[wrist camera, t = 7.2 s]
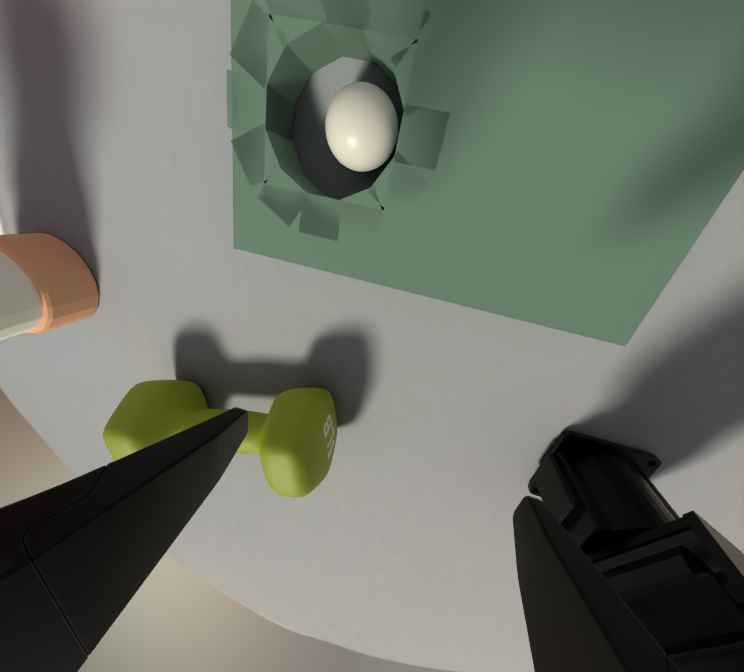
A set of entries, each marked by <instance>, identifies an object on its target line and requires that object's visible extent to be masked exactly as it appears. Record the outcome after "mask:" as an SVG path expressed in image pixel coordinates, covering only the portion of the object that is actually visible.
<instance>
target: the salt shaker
mask: <svg viewBox="0 0 744 672" xmlns="http://www.w3.org/2000/svg"><path fill="white" fill-rule="evenodd" d="M98 298H99V294H98V290H97V286H96V282H95V280H94V278H93V276H92V274H91V272H90V269H89V268H88V266H87V265H86V264H85V262H84V261H83V260H82V258H81V257H80V256H79V254H77V253H76V252H75V251H74V250H73V249H72V248H71V247H70V246H69V245H68V244H66V243H65V242H63V241H61V240H60V239H58V238H56V237H55V236H52V235H48V234H45V233H41V232H40V233H25V234H9V235H0V340H3V339H6V338H9V337H12V336H15V335H18V334H21V333H42V332H45V331H48V330H51V329H54V328H58V327H61V326H64V325H67V324H70V323H73V322H76V321H79V320H83V319H86V318H88V317H89V316H91V315H93V314H94V312H95V310H96V309H97V307H98Z"/></svg>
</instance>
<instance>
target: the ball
mask: <svg viewBox="0 0 744 672" xmlns="http://www.w3.org/2000/svg"><path fill="white" fill-rule="evenodd" d="M325 131H326V137H327V141H328V144H329V147H330V149H331V151H332V153H333V154H334V156H335V157H336V158H337V160H338V161H339V162H340V163H341V164H343V165H344V166H346V167H347V168H349V169H351V170H354V171H359V172H366V171H371V170H374V169H376V168H378V167H379V166H381V165H382V164H383V163H384V162H386V160H387V159H388V158H389V157H390V155H391V154H392V152H393V150H394V148H395V145H396V142H397V137H398V119H397V114H396V110H395V108H394V105H393V103H392V102H391V100H390V98H389V97H388V95H387V94H386V93H385V92H384V91H383V90H382V89H380V88H379V87H377V86H376V85H374V84H371V83H367V82H354V83H351V84H349V85H347V86H345V87H343V88H342V89H341V90H340V91H339V92H338V93H337V94H336V95H335V96H334V98H333V99H332V101H331V103H330V105H329V108H328V110H327V114H326V121H325Z"/></svg>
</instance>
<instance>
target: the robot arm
mask: <svg viewBox="0 0 744 672" xmlns="http://www.w3.org/2000/svg"><path fill="white" fill-rule="evenodd" d="M247 432H248V411H247V410H244V409H241V408H232V409H230V410H228V411H226V412H224V413H221V414H219V415H217V416H215V417H212V418H210V419H208V420H206V421H203V422H201V423H199V424H197V425H194V426H192V427H190V428H188V429H185V430H183V431H181V432H179V433H176V434H174V435H172V436H170V437H167V438H165V439H163V440H161V441H158V442H156V443H154V444H152V445H149V446H147V447H145V448H143V449H141V450H138V451H136V452H134V453H132V454H129V455H127V456H125V457H123V458H120V459H118V460H116V461H114V462H111V463H109V464H108V465H107V466H102V467H100V468H98V469H95V470H93V471H91V472H89V473H86V474H84V475H82V476H79V477H77V478H75V479H72V480H70V481H68V482H65V483H63V484H61V485H58V486H56V487H53V488H51V489H48V490H46V491H43V492H41V493H39V494H36V495H33V496H31V497H28V498H25V499H23V500H20V501H18V502H15V503H12V504H10V505H7V506H5V507H2V508H0V672H78V670H79V669H80V667H81V666H82V665H83V663H84V662H85V661H86V659H87V658H88V655H90V654H91V652H92V651H93V650H94V648H95V647H96V645H97V644H98V643H99V641H100V640H101V639H102V637H103V636H104V635H105V633H106V632H107V631H108V629H109V628H110V627H111V625H112V624H113V623H114V621H115V620H116V619H117V617H118V616H119V615H120V613H121V612H122V611H123V609H124V608H125V607H126V605H127V604H128V602H129V601H130V600H131V598H132V597H133V596H134V594H135V593H136V591H137V590H138V589H139V588H140V586H141V585H142V584H143V582H144V581H145V579H146V578H147V577H148V576H149V574H150V573H151V571H152V570H153V569H154V567H155V566H156V565H157V563H158V562H159V560H160V559H161V558H162V556H163V555H164V554H165V553H166V551H167V550H168V549H169V547H170V546H171V545H172V543H173V542H174V540H175V539H176V538H177V536H178V535H179V534H180V532H181V531H182V530H183V528H184V527H185V526H186V524H187V523H188V522H189V520H190V519H191V518H192V516H193V515H194V514H195V512H196V511H197V509H198V508H199V507H200V505H201V504H202V503H203V501H204V500H205V499H206V497H207V496H208V495H209V493H210V492H211V491H212V489H213V488H214V487H215V485H216V484H217V482H218V481H219V480H220V478H221V476H222V475H223V473H224V472H225V470H226V468H227V467H228V465H229V463H230V462H231V460H232V458H233V457H234V455H235V453H236V452H237V450H238V448H239V447H240V445H241V443H242V442H243V440H244V438H245V437H246V435H247ZM568 438H571V439H568ZM660 464H661V461H660V460H659V459H658V458H657V457H656V456H655V455H654V454H651V453H647V452H644V451H640V450H636V449H633V448H629V447H626V446H622V445H619V444H615V443H612V442H608V441H604V440H601V439H597V438H594V437H590V436H587V435H583V434H580V433H576V432H572V431H566V432H563V433H562V434H561V436H560V437H559V439H558V440H557V442H556V443H555V445H554V446H553V448H552V449H551V451H550V452H549V454H548V455H547V456H546V457H545V459H544V460H543V462H542V463H541V465H540V466H539V468H538V469H537V471H536V473H535V474H534V477H533V478H532V480H531V481H530V483H529V484H528V488H529V491H530V493H531V494H533V495H537V496H540V497H541V498H542V501H543V502H542V501H541V500H540V499H537V498H534V497H530V496H525V497H524V498H523V499H522V501H521V502H520V504H519V505H518V507H517V508H516V510H515V511H514V514H513V527H514V539H515V551H516V563H517V573H518V580H519V587H520V592H521V598H522V603H523V609H524V614H525V620H526V625H527V631H528V636H529V642H530V647H531V653H532V659H533V664H534V670H535V672H744V554H743V553H742V552H741V551H740V550H739V549H737V548H736V547H735V546H734V545H733V544H732V543H730V542H729V541H728V540H727V539H726V538H725V537H723V536H722V535H721V534H720V533H719V532H718V531H717V530H715V529H714V528H713V527H712V526H711V525H710V524H708V523H707V522H706V521H705V520H704V519H703V518H701V517H700V516H699V515H698V514H697V513H696V512H694V511H691V512H688V513H686V514H683V517H682V518H680V517H679V516H678V515H677V514H676V512H675V511H674V510H673V509H672V507H671V506H670V505H669V504H668V502H667V501H666V500H665V499H664V497H663V496H662V495H661V494H660V492H659V491H658V490H657V488H656V487H655V486H654V485H653V483H652V482H651V481H650V480H649V477H650V476H651V475H652V474H653V472H654V471H655V470H656V469H657V468H658V467H659V466H660Z"/></svg>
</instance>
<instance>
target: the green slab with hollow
mask: <svg viewBox="0 0 744 672" xmlns="http://www.w3.org/2000/svg"><path fill="white" fill-rule="evenodd" d="M230 55H231V57H232V71H230V70H227V112H228V127H230V128H232V136H233V140H231V142H232V145H233V215H234V248H236V249H240V250H244V251H248V252H252V253H256V254H260V255H264V256H268V257H272V258H276V259H280V260H284V261H288V262H292V263H296V264H300V265H304V266H307V267H311V268H315V269H319V270H323V271H327V272H331V273H335V274H339V275H343V276H347V277H351V278H355V279H359V280H363V281H367V282H371V283H375V284H379V285H383V286H387V287H391V288H395V289H399V290H403V291H407V292H411V293H415V294H419V295H423V296H427V297H431V298H435V299H439V300H443V301H447V302H451V303H455V304H459V305H463V306H467V307H471V308H475V309H479V310H483V311H487V312H491V313H495V314H498V315H502V316H506V317H510V318H514V319H518V320H522V321H526V322H530V323H534V324H538V325H542V326H546V327H550V328H554V329H558V330H562V331H566V332H570V333H574V334H578V335H582V336H586V337H590V338H594V339H598V340H602V341H606V342H610V343H614V344H618V345H622V346H626V344H627V343H628V341H629V340H630V338H631V337H632V335H633V334H634V332H635V331H636V329H637V328H638V326H639V325H640V323H641V322H642V320H643V319H644V318H645V316H646V315H647V313H648V312H649V310H650V309H651V307H652V306H653V304H654V303H655V301H656V300H657V298H658V297H659V295H660V294H661V292H662V291H663V289H664V288H665V286H666V285H667V283H668V282H669V280H670V279H671V277H672V276H673V274H674V273H675V271H676V270H677V268H678V267H679V265H680V264H681V262H682V261H683V259H684V258H685V256H686V255H687V253H688V252H689V250H690V249H691V247H692V246H693V244H694V243H695V241H696V240H697V238H698V237H699V235H700V234H701V232H702V231H703V229H704V228H705V226H706V225H707V223H708V222H709V220H710V219H711V217H712V216H713V214H714V213H715V211H716V210H717V208H718V207H719V205H720V204H721V202H722V201H723V199H724V198H725V196H726V195H727V193H728V192H729V191H730V189H731V188H732V186H733V185H734V183H735V182H736V180H737V179H738V177H739V176H740V174H741V173H742V171H743V170H744V0H231V52H230ZM341 56H344V57H349V58H355V59H361V60H366V61H372V62H375V63H376V64H377V65H378V66H379V67H380V68H381V69H382V70H383V71H384V72H385V74H386V75H387V76H388V77H389V78H390V79H391V80H392V81H393V82H394V83H395V84H396V86H397V87H398V89H399V93H400V97H401V101H402V105H403V109H404V112H403V117H402V122H401V127H400V132H399V137H398V142H397V147H396V152H395V156H394V158H393V159H392V160H391V161H390V163H389V164H388V165H387V167H386V168H385V169H384V171H383V172H382V173H381V175H380V176H379V177H378V178H377V180H376V181H375V182H374V184H373V185H372V186H371V188H368V189H366V190H363V191H361V192H358V193H356V194H353V195H351V196H348V197H346V198H343V199H341V198H337V197H332V196H328V195H325V194H324V193H323V192H322V191H321V190H320V189H319V188H318V187H317V186H316V185H315V184H314V183H313V182H312V181H311V180H310V179H309V178H308V177H307V176H306V175H305V174H304V172H303V170H302V167H301V164H300V161H299V159H298V156H297V153H296V150H295V148H294V145H293V142H292V139H293V124H294V108H295V103H296V101H297V100H298V98H299V96H300V94H301V92H302V91H303V89H304V87H305V85H306V83H307V82H308V80H309V78H310V76H311V74H312V73H313V72H315V71H316V70H318V69H320V68H322V67H324V66H325V65H327V64H329V63H331V62H333V61H334V60H336V59H338V58H340V57H341Z"/></svg>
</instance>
